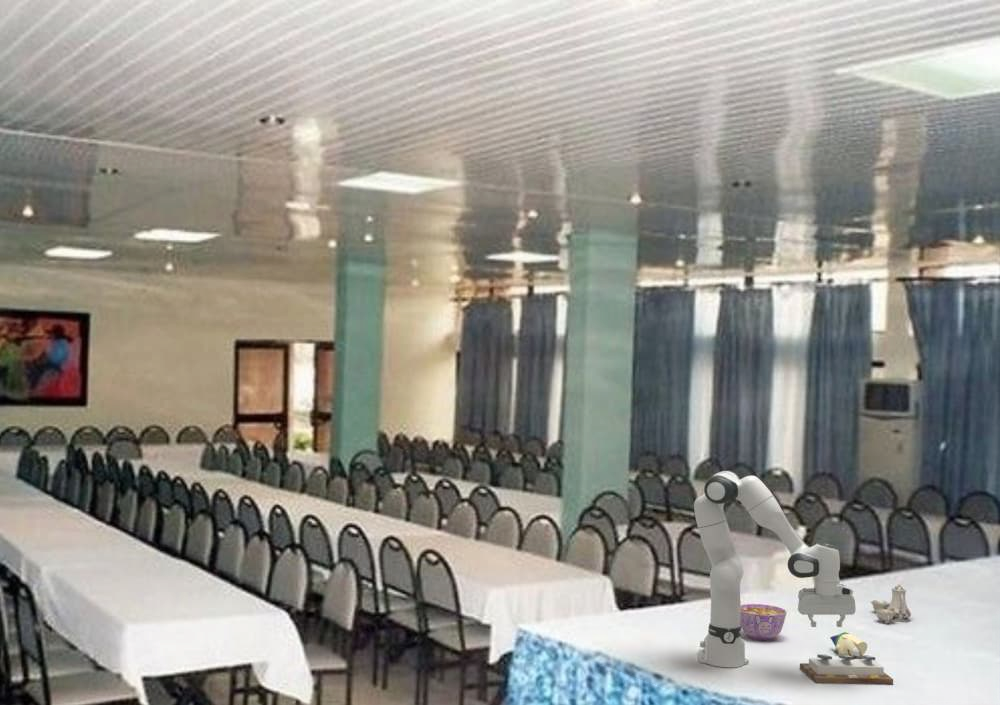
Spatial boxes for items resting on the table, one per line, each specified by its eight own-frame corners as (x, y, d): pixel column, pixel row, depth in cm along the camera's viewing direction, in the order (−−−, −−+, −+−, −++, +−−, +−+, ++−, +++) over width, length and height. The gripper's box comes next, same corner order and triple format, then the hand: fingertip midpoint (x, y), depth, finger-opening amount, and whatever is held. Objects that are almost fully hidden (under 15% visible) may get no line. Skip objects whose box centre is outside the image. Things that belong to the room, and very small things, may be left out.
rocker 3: (860, 658, 410) (859, 654, 410) (868, 658, 410) (867, 655, 411) (867, 660, 403) (867, 656, 403) (875, 660, 403) (875, 657, 404)
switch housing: (808, 666, 411) (809, 655, 411) (872, 667, 412) (873, 656, 412) (817, 674, 401) (818, 663, 401) (883, 675, 402) (883, 664, 402)
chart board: (799, 668, 415) (799, 662, 415) (873, 669, 416) (873, 664, 416) (815, 683, 397) (816, 677, 397) (893, 684, 398) (893, 678, 398)
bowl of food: (766, 646, 445) (767, 617, 444) (725, 635, 460) (726, 607, 460) (795, 639, 458) (796, 611, 458) (755, 628, 473) (756, 601, 473)
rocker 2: (838, 657, 410) (838, 654, 410) (846, 657, 410) (846, 654, 410) (845, 659, 403) (845, 656, 403) (853, 659, 403) (853, 656, 403)
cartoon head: (860, 669, 426) (824, 653, 445) (877, 654, 430) (841, 639, 448) (852, 651, 424) (816, 635, 442) (869, 636, 427) (833, 622, 446)
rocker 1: (817, 657, 409) (817, 654, 410) (825, 657, 410) (825, 654, 410) (823, 659, 402) (823, 656, 403) (831, 659, 403) (831, 656, 403)
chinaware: (866, 614, 514) (864, 578, 514) (904, 612, 512) (901, 576, 512) (878, 629, 486) (875, 591, 487) (918, 627, 484) (915, 589, 484)
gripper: (801, 590, 400) (800, 628, 400) (857, 590, 401) (857, 628, 401) (795, 586, 406) (795, 624, 406) (851, 586, 407) (850, 624, 407)
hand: (826, 626), depth 403 cm, fingers open, 8 cm apart
